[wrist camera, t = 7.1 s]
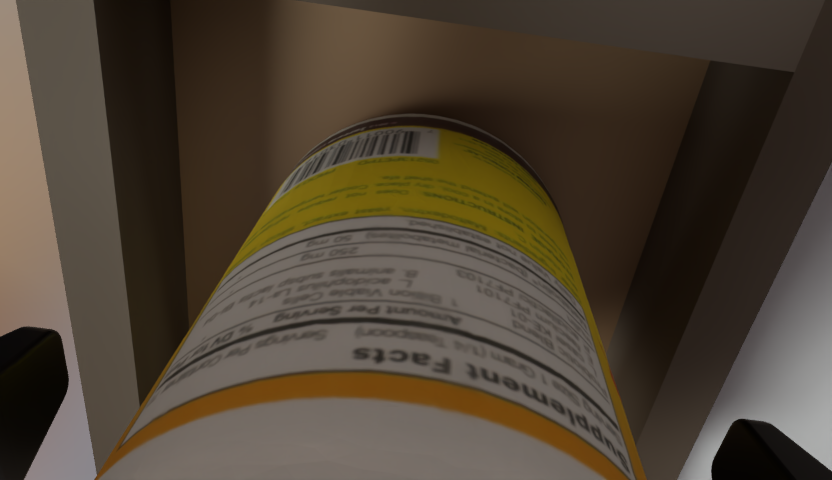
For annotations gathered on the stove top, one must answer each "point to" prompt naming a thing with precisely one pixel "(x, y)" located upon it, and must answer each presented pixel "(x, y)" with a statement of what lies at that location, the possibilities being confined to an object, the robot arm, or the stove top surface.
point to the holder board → (451, 98)
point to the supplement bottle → (392, 330)
